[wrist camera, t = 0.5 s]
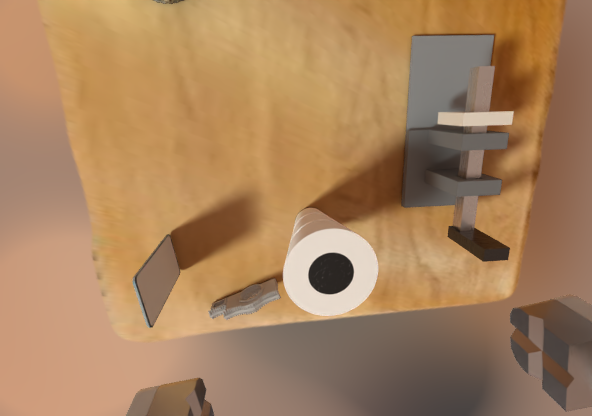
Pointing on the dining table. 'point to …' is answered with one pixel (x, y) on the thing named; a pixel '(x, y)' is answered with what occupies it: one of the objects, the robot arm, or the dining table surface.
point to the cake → (168, 1)
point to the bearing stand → (445, 166)
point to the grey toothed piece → (246, 300)
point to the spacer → (475, 118)
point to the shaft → (475, 175)
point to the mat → (442, 76)
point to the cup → (328, 265)
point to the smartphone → (156, 280)
